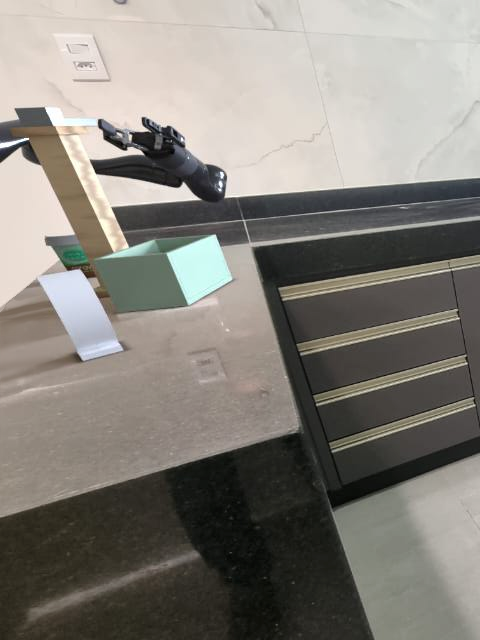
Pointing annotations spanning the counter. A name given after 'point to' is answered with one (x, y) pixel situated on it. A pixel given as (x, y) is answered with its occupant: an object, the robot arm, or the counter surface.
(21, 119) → the grey and white block
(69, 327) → the white curved stand
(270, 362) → the counter surface
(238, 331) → the counter surface
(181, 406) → the counter surface
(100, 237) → the wooden stand
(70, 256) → the food container
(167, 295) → the bin
